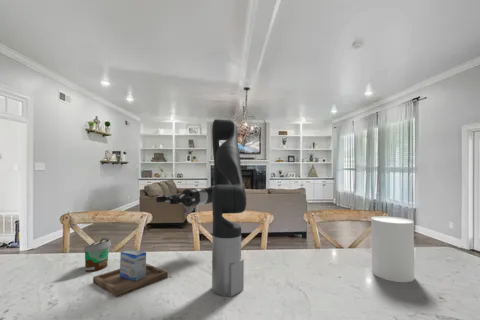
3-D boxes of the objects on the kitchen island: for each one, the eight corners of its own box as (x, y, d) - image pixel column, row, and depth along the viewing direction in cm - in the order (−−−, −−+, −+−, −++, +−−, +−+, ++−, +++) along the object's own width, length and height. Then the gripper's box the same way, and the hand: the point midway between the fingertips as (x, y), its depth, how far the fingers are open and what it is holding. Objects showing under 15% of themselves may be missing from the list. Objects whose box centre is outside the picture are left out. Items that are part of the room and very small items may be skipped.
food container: (99, 274, 95) (100, 246, 96) (83, 273, 95) (83, 245, 96) (116, 261, 108) (117, 237, 108) (101, 261, 108) (102, 237, 108)
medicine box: (119, 277, 90) (119, 252, 91) (129, 272, 94) (130, 248, 95) (136, 281, 87) (136, 255, 87) (146, 277, 91) (146, 251, 91)
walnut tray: (167, 277, 92) (167, 271, 92) (117, 297, 78) (117, 290, 78) (141, 267, 102) (141, 261, 102) (93, 282, 88) (93, 276, 88)
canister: (371, 277, 94) (370, 220, 94) (372, 265, 106) (371, 215, 106) (416, 285, 88) (415, 224, 88) (412, 271, 100) (411, 218, 100)
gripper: (184, 187, 118) (152, 189, 105) (206, 189, 110) (175, 191, 97) (183, 204, 118) (152, 208, 105) (206, 207, 109) (175, 212, 96)
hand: (163, 200), depth 101 cm, fingers open, 8 cm apart
